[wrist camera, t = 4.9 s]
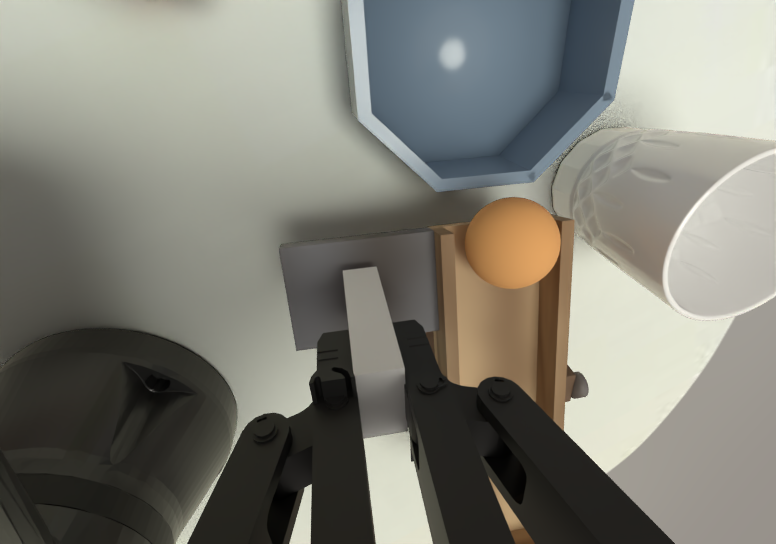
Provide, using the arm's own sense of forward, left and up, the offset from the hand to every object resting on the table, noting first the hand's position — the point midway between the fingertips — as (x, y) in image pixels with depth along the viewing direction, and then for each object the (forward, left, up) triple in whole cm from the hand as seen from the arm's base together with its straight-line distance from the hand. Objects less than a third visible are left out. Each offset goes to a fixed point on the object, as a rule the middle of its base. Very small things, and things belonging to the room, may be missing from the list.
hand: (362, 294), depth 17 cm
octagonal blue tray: (+7, +10, -7) cm, 14 cm away
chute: (+3, -9, -2) cm, 10 cm away
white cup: (+16, +2, -7) cm, 18 cm away
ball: (+7, +2, 0) cm, 7 cm away
